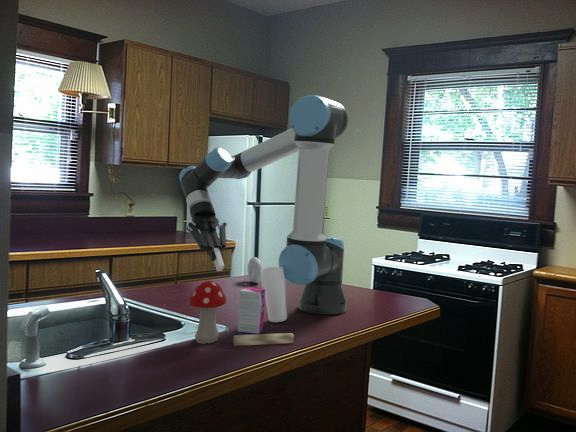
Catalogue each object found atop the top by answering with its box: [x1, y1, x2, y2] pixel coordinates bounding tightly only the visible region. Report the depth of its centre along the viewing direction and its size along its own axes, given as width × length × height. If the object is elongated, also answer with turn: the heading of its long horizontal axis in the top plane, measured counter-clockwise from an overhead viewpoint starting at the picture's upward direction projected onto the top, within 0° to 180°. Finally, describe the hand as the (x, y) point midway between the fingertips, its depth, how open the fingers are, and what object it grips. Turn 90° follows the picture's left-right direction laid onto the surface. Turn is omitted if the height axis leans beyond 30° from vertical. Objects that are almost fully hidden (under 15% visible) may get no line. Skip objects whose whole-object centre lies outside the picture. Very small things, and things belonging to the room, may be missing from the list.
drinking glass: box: [260, 266, 288, 323], centre depth 162 cm, size 7×7×15 cm
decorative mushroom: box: [189, 280, 227, 345], centre depth 142 cm, size 10×9×15 cm
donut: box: [247, 256, 263, 284], centre depth 220 cm, size 10×4×10 cm, turn 23°
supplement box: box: [237, 286, 266, 335], centre depth 151 cm, size 6×6×12 cm
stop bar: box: [232, 332, 295, 347], centre depth 142 cm, size 15×2×2 cm, turn 106°
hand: (220, 268), depth 168 cm, fingers closed
